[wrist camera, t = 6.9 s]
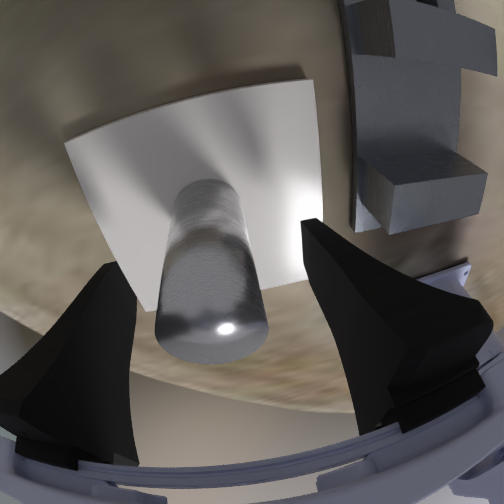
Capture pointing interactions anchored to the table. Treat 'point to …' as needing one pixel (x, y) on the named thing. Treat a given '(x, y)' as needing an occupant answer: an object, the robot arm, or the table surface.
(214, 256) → the steel pin
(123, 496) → the robot arm
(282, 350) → the table surface
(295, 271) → the coaster
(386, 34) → the vise
